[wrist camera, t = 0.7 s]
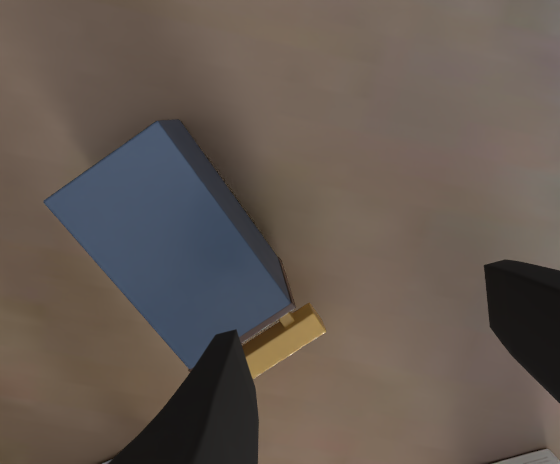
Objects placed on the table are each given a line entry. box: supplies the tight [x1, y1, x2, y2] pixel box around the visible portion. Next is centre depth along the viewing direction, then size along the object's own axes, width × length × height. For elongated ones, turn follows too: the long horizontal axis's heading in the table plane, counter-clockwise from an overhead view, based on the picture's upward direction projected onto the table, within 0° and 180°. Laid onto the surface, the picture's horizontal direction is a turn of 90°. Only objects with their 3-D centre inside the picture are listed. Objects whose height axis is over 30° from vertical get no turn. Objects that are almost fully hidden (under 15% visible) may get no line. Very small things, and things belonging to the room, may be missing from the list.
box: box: [44, 119, 326, 379], centre depth 19 cm, size 12×6×6 cm, turn 33°
